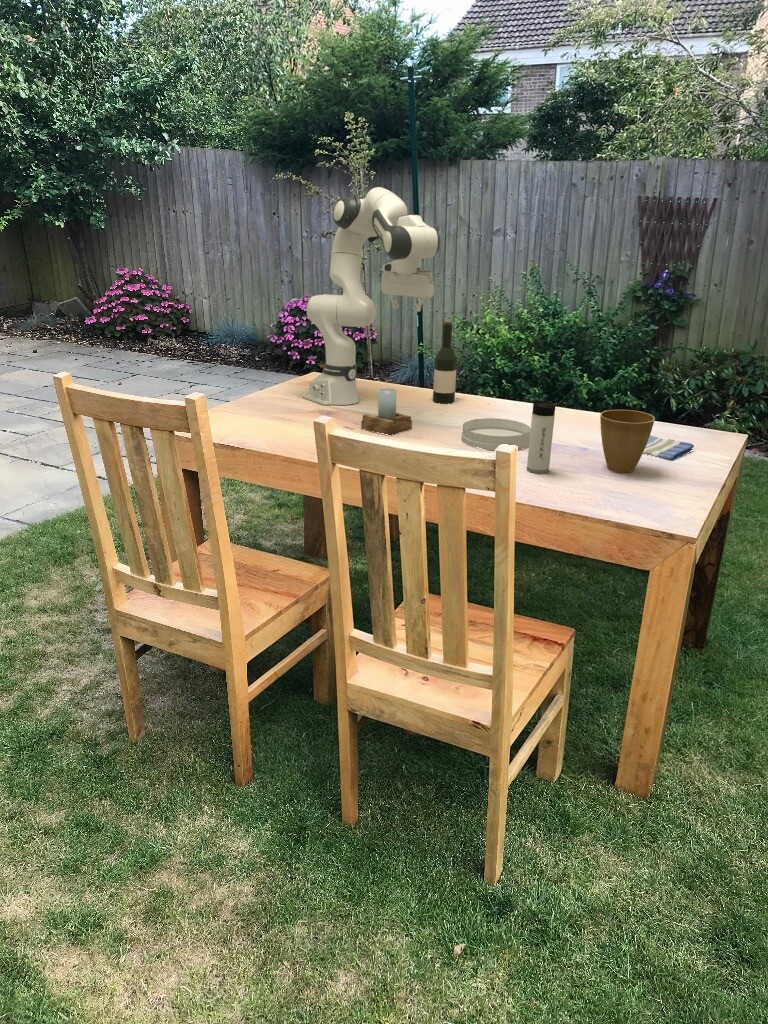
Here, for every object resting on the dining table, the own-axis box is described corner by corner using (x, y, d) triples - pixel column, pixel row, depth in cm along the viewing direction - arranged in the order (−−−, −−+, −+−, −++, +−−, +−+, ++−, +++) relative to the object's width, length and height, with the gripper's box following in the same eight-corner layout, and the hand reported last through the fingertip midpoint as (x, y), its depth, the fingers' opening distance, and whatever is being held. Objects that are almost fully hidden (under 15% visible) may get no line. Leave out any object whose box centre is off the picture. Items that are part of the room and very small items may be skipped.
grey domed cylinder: (374, 420, 261) (374, 390, 257) (386, 417, 265) (386, 387, 261) (387, 423, 257) (388, 393, 253) (399, 420, 261) (400, 390, 258)
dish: (532, 436, 259) (534, 421, 258) (527, 455, 239) (528, 439, 238) (466, 430, 264) (467, 415, 263) (455, 448, 244) (456, 432, 243)
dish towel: (627, 436, 263) (628, 428, 262) (695, 451, 248) (697, 443, 247) (601, 446, 252) (602, 437, 250) (671, 462, 236) (672, 454, 235)
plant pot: (606, 458, 237) (613, 406, 232) (654, 469, 229) (663, 415, 223) (584, 469, 227) (591, 415, 221) (634, 481, 218) (642, 425, 212)
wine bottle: (454, 399, 304) (459, 321, 293) (454, 404, 297) (459, 324, 286) (433, 398, 305) (437, 320, 294) (432, 403, 297) (436, 323, 286)
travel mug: (532, 465, 229) (539, 398, 222) (552, 470, 225) (560, 402, 218) (521, 470, 224) (528, 401, 217) (542, 475, 221) (549, 405, 213)
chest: (361, 429, 261) (361, 414, 259) (384, 422, 270) (384, 408, 268) (388, 436, 254) (389, 421, 252) (411, 429, 263) (412, 414, 261)
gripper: (438, 268, 254) (436, 312, 260) (390, 264, 267) (389, 306, 272) (427, 269, 250) (425, 313, 255) (378, 265, 262) (377, 307, 267)
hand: (406, 309), depth 263 cm, fingers open, 8 cm apart
